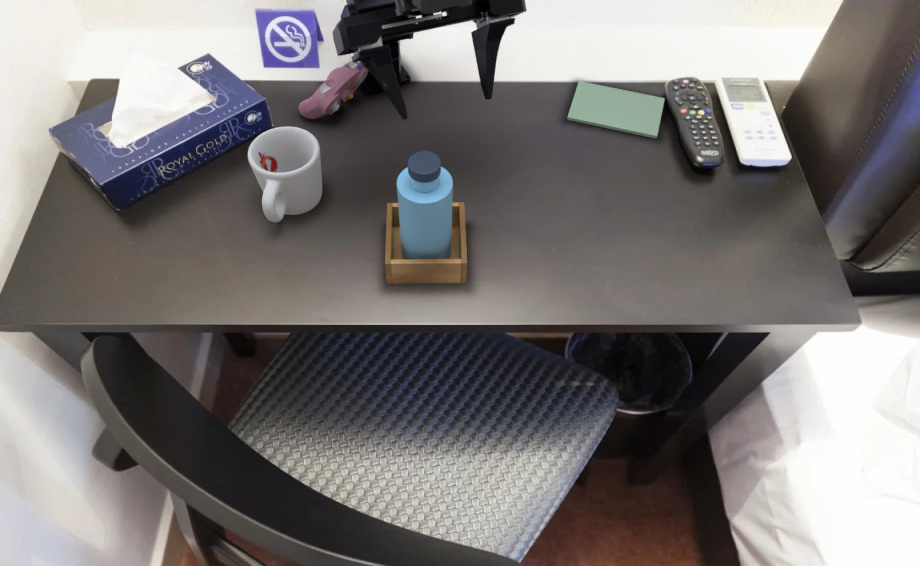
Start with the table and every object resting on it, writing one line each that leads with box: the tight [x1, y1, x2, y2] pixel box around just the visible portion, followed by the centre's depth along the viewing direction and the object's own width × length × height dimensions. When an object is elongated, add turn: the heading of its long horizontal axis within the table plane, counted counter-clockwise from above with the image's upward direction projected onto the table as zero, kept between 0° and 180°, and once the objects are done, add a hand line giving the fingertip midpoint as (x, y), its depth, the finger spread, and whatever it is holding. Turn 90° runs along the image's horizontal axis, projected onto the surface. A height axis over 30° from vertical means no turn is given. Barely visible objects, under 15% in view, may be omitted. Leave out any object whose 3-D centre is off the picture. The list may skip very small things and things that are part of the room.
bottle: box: [396, 150, 454, 259], centre depth 70 cm, size 6×6×14 cm
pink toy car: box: [298, 60, 369, 120], centre depth 88 cm, size 10×5×7 cm, turn 148°
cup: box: [247, 125, 323, 223], centre depth 77 cm, size 11×8×8 cm
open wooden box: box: [384, 201, 468, 285], centre depth 74 cm, size 9×9×4 cm
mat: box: [566, 80, 666, 140], centre depth 90 cm, size 12×8×1 cm, turn 73°
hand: (447, 108), depth 69 cm, fingers open, 9 cm apart
